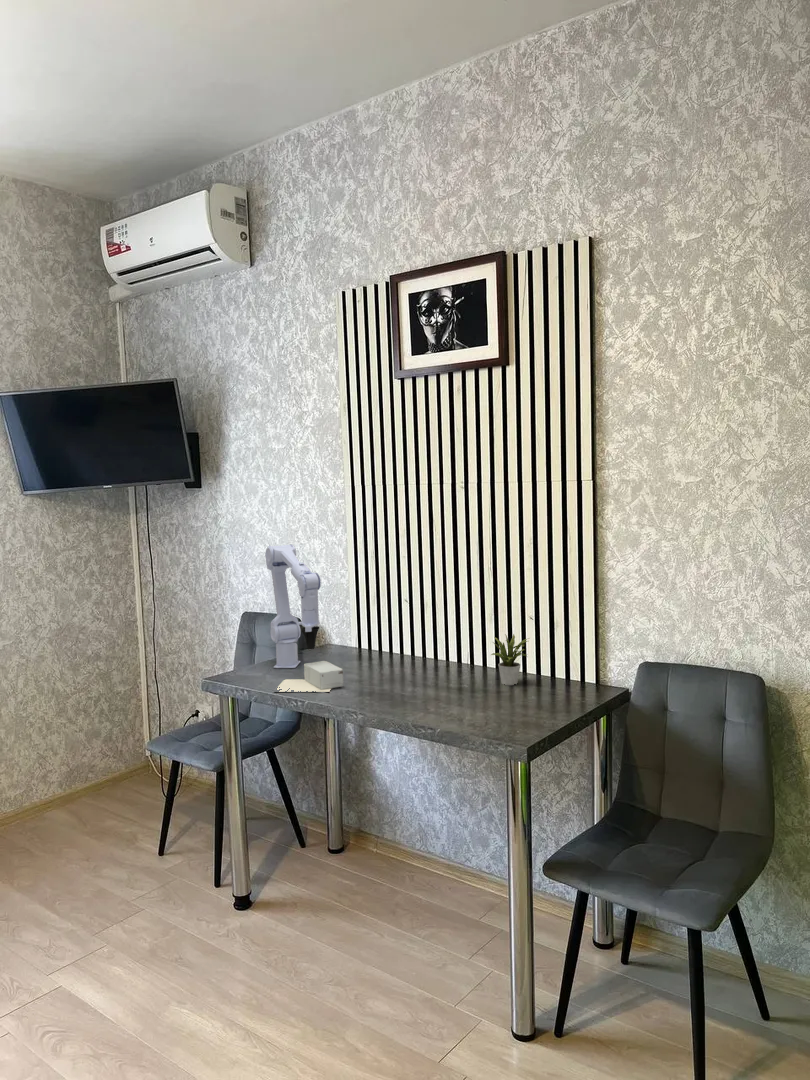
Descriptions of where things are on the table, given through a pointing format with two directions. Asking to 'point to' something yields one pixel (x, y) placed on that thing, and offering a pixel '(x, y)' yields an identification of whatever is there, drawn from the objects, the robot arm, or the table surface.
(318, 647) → the table surface
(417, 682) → the table surface
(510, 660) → the house plant
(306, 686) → the mat
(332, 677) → the skincare box
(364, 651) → the table surface
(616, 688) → the table surface
